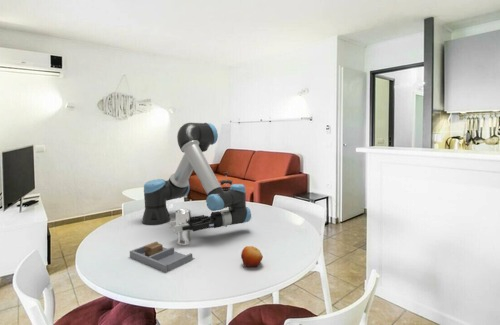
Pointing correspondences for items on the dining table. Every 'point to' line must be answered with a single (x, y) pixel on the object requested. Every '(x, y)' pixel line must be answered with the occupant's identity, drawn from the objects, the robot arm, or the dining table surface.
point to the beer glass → (182, 219)
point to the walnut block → (153, 249)
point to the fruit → (251, 256)
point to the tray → (161, 258)
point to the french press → (226, 183)
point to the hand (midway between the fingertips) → (172, 227)
